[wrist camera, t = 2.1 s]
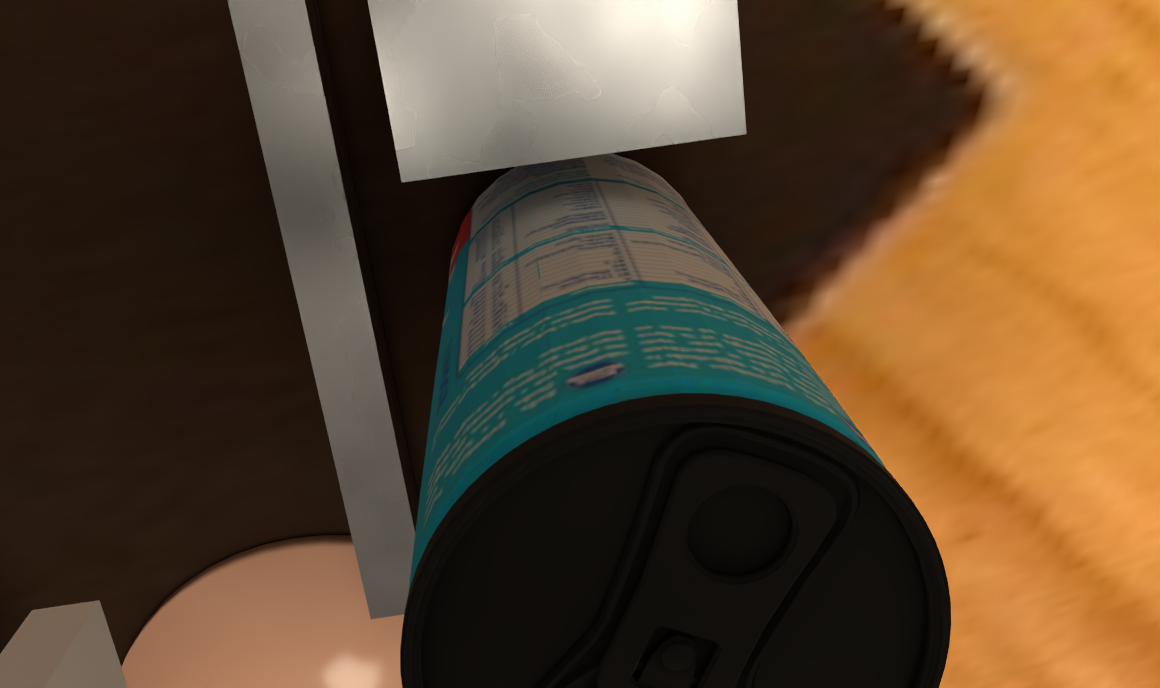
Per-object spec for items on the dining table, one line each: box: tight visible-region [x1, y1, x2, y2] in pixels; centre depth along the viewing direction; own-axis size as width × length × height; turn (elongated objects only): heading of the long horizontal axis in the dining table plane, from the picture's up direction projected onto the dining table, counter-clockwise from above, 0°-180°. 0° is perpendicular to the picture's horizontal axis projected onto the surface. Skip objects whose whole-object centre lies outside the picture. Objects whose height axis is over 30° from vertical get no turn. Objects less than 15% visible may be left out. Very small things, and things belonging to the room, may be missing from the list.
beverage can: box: [400, 153, 951, 688], centre depth 18 cm, size 6×6×15 cm
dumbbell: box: [228, 0, 746, 619], centre depth 23 cm, size 16×9×6 cm, turn 7°
